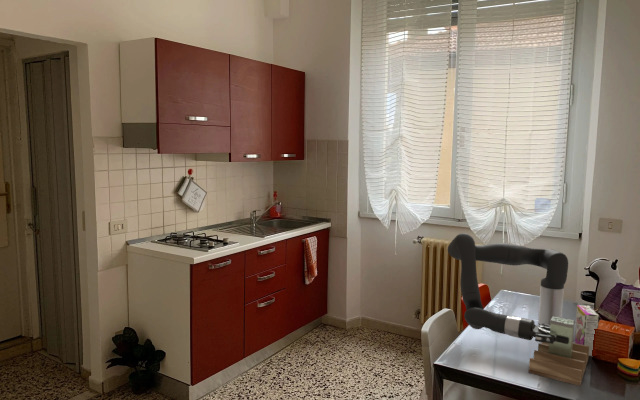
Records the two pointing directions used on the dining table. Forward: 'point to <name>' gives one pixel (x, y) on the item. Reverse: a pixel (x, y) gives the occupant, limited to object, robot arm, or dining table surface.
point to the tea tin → (562, 329)
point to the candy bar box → (586, 326)
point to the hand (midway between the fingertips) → (569, 338)
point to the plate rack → (560, 364)
